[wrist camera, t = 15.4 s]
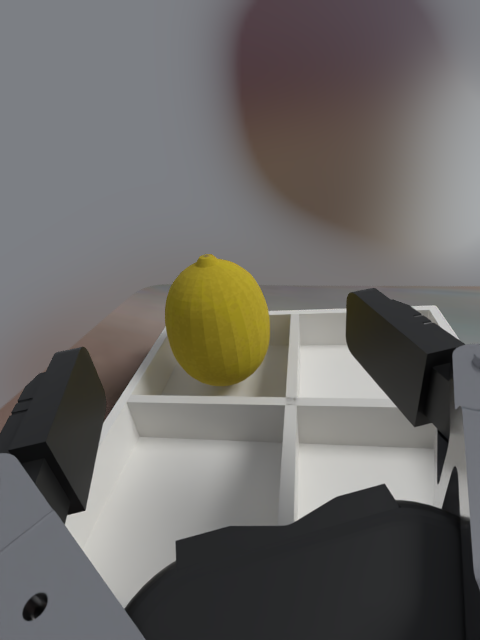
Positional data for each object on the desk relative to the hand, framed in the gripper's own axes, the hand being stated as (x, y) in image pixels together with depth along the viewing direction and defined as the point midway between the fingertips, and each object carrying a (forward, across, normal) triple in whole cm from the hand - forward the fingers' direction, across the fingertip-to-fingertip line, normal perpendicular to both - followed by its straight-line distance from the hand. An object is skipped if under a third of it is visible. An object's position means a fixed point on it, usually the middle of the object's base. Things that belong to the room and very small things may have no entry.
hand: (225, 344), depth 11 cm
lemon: (+7, 0, +8) cm, 11 cm away
